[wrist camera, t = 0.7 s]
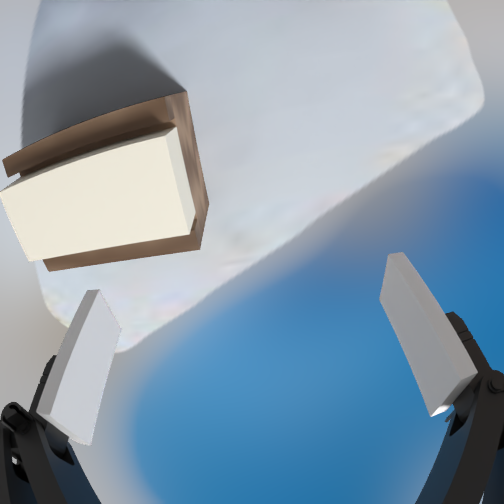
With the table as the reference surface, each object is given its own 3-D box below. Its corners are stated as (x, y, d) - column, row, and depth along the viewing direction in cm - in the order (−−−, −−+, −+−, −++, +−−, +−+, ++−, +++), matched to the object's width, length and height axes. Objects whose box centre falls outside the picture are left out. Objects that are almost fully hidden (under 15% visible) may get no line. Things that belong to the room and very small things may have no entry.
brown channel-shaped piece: (51, 134, 28) (2, 159, 19) (186, 91, 27) (164, 96, 19) (82, 227, 35) (48, 271, 27) (209, 203, 35) (199, 249, 26)
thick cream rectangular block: (20, 176, 23) (-2, 192, 19) (176, 126, 22) (165, 135, 19) (46, 241, 27) (29, 261, 24) (195, 212, 26) (189, 234, 23)
